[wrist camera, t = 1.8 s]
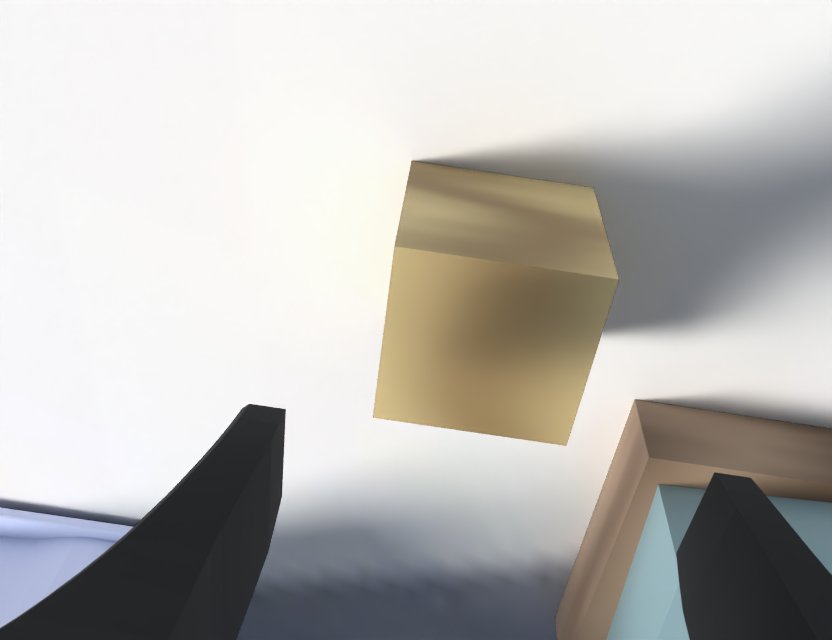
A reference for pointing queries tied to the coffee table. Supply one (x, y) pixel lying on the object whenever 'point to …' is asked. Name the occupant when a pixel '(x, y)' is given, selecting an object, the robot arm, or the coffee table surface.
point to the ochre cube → (493, 304)
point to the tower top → (657, 564)
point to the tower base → (683, 467)
